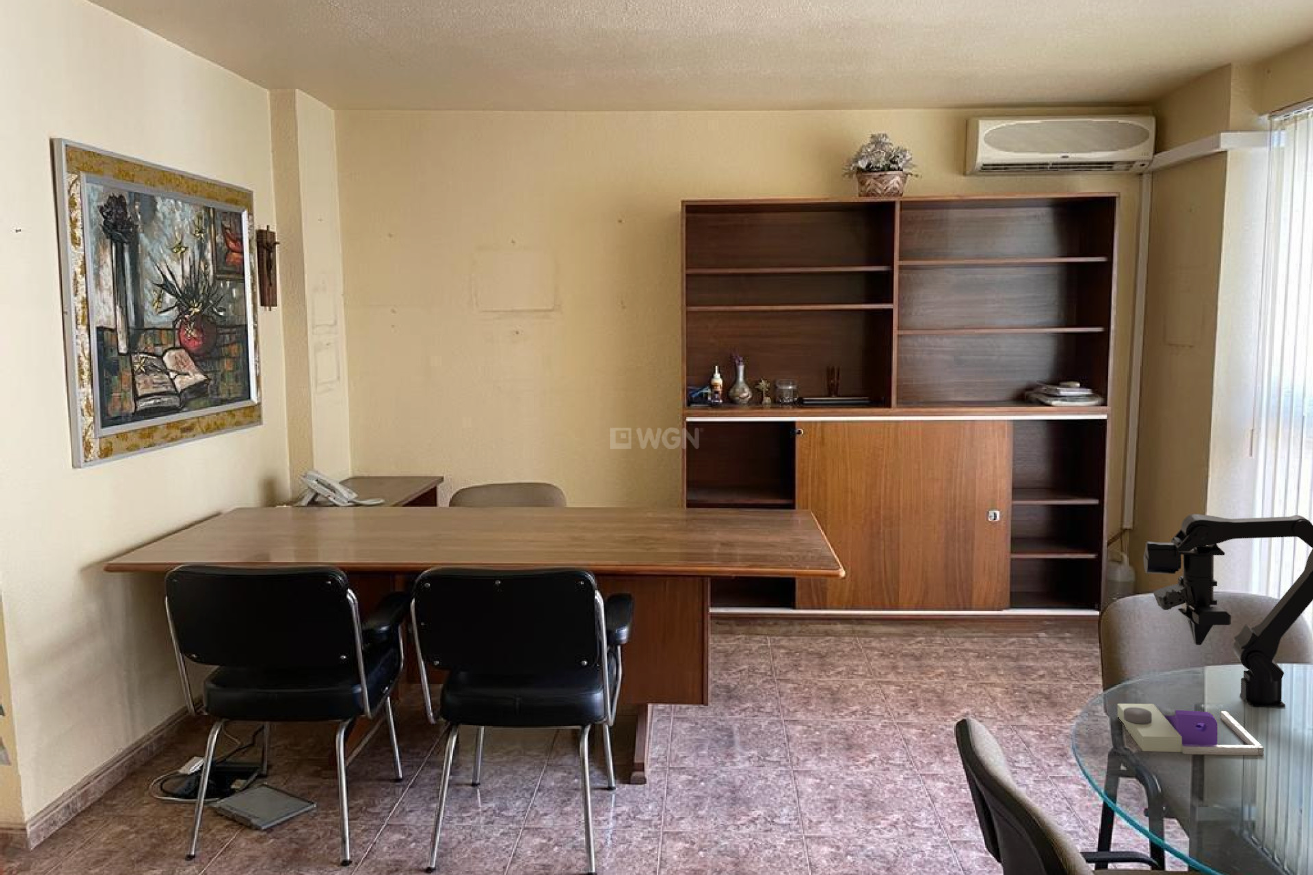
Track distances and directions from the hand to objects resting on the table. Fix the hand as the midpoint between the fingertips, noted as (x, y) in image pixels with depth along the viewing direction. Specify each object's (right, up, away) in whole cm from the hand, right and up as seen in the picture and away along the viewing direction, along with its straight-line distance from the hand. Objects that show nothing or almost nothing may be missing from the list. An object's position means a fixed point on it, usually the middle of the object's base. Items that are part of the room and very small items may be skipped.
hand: (1197, 644), depth 207 cm
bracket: (-10, -15, -16) cm, 24 cm away
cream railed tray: (-12, -15, -16) cm, 25 cm away
